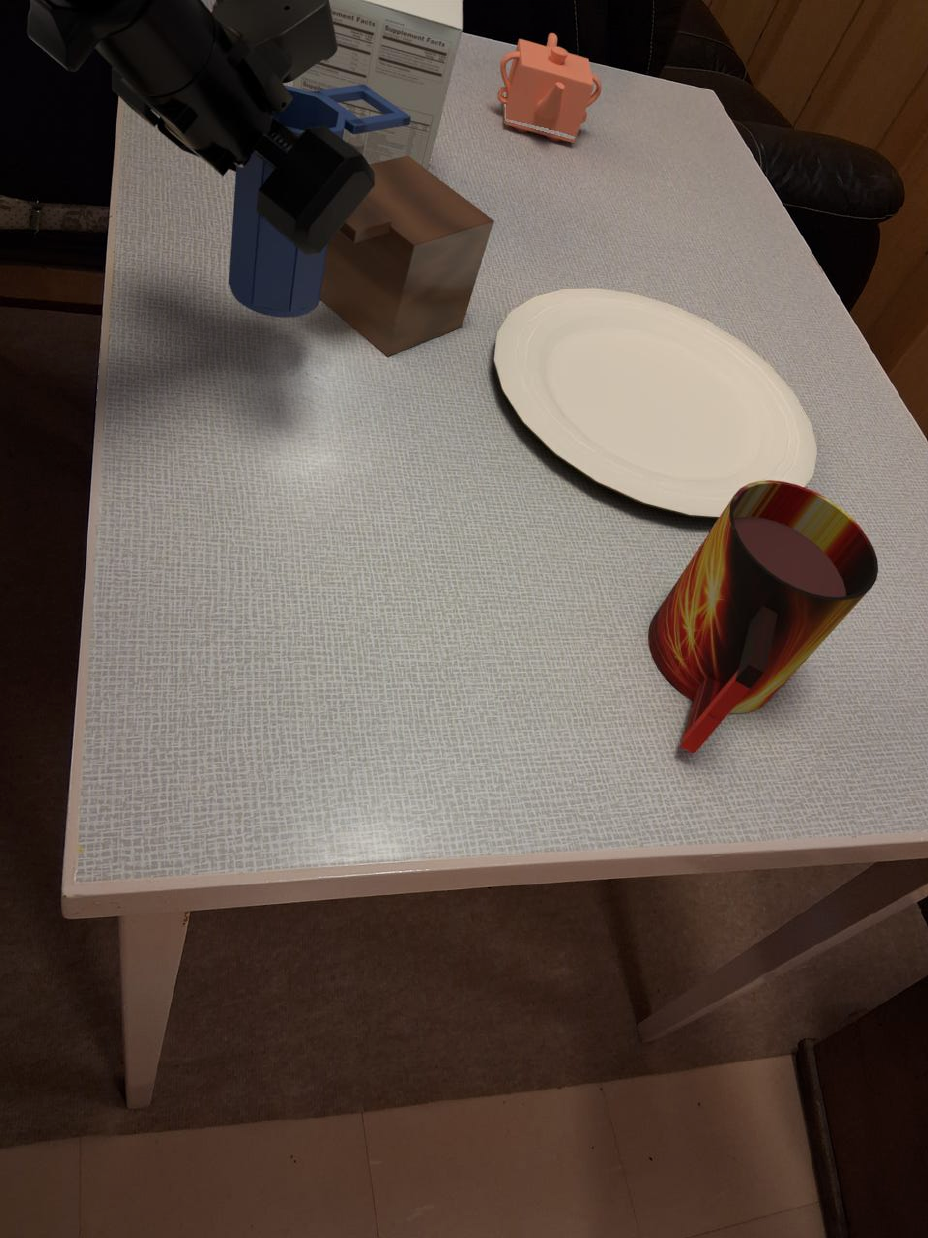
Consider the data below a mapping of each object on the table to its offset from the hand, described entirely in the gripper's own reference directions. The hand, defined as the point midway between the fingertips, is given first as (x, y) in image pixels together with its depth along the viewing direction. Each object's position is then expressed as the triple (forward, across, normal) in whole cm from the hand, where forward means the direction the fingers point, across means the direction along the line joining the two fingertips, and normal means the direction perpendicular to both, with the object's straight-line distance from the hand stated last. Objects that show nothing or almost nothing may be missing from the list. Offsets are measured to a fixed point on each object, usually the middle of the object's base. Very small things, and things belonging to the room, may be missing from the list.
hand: (300, 202), depth 66 cm
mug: (+11, -42, +6) cm, 43 cm away
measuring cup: (+5, 0, +4) cm, 7 cm away
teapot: (+46, +19, -30) cm, 58 cm away
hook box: (+15, 0, +2) cm, 15 cm away
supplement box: (+25, +18, -8) cm, 32 cm away
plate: (+25, -21, -8) cm, 34 cm away
